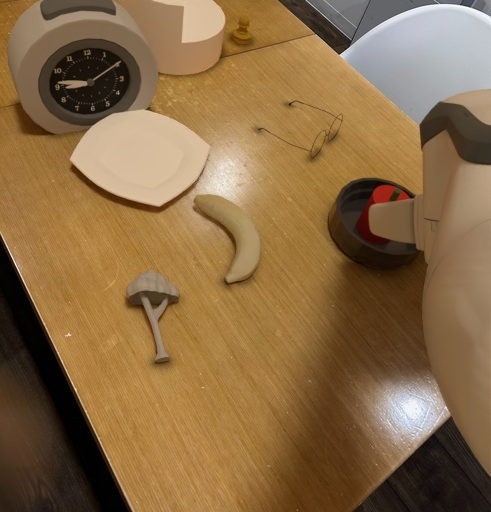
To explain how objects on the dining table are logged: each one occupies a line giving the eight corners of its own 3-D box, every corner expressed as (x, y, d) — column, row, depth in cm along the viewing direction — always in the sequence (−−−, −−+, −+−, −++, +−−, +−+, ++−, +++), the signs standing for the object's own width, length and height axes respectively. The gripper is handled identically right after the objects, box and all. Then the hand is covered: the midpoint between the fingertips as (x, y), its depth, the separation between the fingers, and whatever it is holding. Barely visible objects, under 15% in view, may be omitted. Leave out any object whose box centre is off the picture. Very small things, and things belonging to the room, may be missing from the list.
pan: (437, 238, 80) (450, 220, 77) (385, 289, 73) (398, 272, 69) (364, 183, 85) (373, 164, 82) (308, 225, 77) (316, 206, 74)
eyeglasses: (254, 132, 88) (259, 109, 84) (291, 102, 95) (298, 79, 91) (306, 165, 85) (315, 142, 81) (340, 131, 92) (350, 109, 88)
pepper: (398, 244, 77) (424, 206, 70) (362, 245, 76) (385, 206, 69) (385, 214, 81) (409, 175, 74) (351, 215, 79) (372, 175, 72)
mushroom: (140, 355, 56) (127, 262, 61) (130, 368, 60) (119, 278, 65) (197, 350, 60) (180, 262, 65) (184, 362, 63) (169, 278, 68)
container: (230, 75, 97) (241, 8, 86) (125, 74, 92) (123, 3, 81) (210, 18, 108) (218, -47, 97) (116, 15, 102) (113, -55, 92)
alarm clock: (28, 138, 78) (-1, 18, 62) (18, 108, 82) (-11, -13, 66) (157, 118, 86) (160, 6, 70) (144, 91, 90) (144, -21, 74)
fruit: (234, 197, 78) (237, 182, 76) (272, 274, 71) (277, 260, 68) (191, 205, 76) (193, 191, 73) (226, 286, 68) (229, 273, 66)
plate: (223, 153, 84) (225, 144, 82) (162, 227, 72) (162, 219, 71) (126, 104, 86) (126, 95, 84) (52, 170, 75) (51, 160, 73)
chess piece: (229, 34, 105) (232, 11, 101) (246, 33, 106) (250, 11, 102) (235, 45, 103) (239, 22, 99) (252, 44, 104) (257, 21, 100)
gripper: (551, 176, 60) (466, 175, 73) (410, 197, 54) (344, 193, 67) (550, 227, 62) (467, 218, 74) (412, 254, 55) (347, 238, 68)
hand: (408, 206), depth 71 cm, fingers open, 8 cm apart
